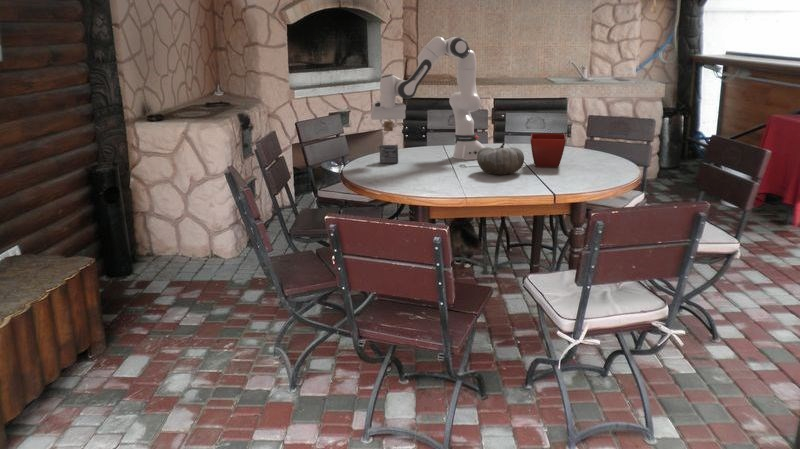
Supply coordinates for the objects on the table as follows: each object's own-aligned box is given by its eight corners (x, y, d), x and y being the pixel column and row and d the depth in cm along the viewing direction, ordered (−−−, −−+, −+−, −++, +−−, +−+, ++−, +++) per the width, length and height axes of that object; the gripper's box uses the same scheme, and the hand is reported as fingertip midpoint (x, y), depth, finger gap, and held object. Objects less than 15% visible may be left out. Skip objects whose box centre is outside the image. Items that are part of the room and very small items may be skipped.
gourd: (507, 175, 359) (505, 141, 357) (468, 177, 375) (466, 145, 374) (532, 172, 377) (530, 140, 376) (494, 174, 394) (492, 143, 392)
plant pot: (564, 169, 384) (565, 139, 380) (529, 168, 388) (530, 138, 383) (563, 162, 402) (565, 133, 398) (530, 162, 406) (531, 133, 401)
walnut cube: (392, 129, 408) (392, 121, 407) (392, 130, 403) (392, 122, 402) (384, 129, 408) (384, 121, 407) (384, 131, 403) (383, 122, 402)
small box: (398, 161, 414) (398, 144, 411) (397, 164, 407) (397, 146, 404) (381, 161, 415) (380, 144, 412) (379, 164, 408) (379, 146, 406)
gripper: (405, 102, 404) (406, 126, 408) (370, 102, 404) (371, 126, 408) (406, 103, 398) (406, 127, 402) (370, 104, 398) (371, 128, 402)
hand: (388, 127), depth 405 cm, fingers closed on walnut cube, 5 cm apart
